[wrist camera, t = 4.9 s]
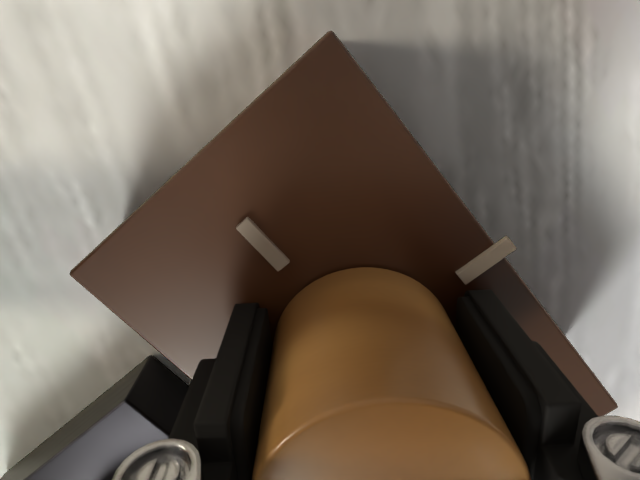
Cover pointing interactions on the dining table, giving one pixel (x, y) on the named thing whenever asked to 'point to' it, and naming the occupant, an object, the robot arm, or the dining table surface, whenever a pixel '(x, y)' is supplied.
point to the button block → (109, 428)
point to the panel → (305, 222)
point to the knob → (377, 389)
